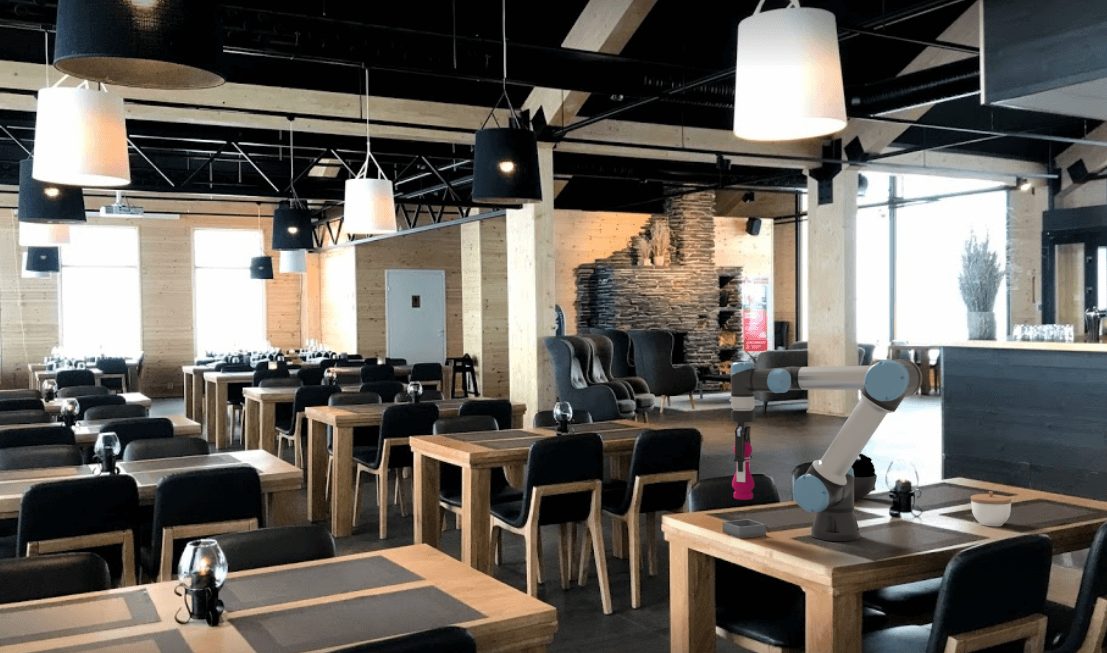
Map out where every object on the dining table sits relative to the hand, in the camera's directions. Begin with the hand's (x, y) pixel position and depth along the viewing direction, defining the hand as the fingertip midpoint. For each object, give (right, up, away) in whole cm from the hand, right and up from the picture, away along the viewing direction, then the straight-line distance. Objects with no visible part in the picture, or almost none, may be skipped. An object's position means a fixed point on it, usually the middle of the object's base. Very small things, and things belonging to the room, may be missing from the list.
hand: (743, 479), depth 326 cm
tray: (0, -18, 0) cm, 18 cm away
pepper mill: (0, -6, 0) cm, 6 cm away
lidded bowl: (+86, -17, +11) cm, 88 cm away
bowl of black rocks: (+52, -17, +59) cm, 80 cm away
